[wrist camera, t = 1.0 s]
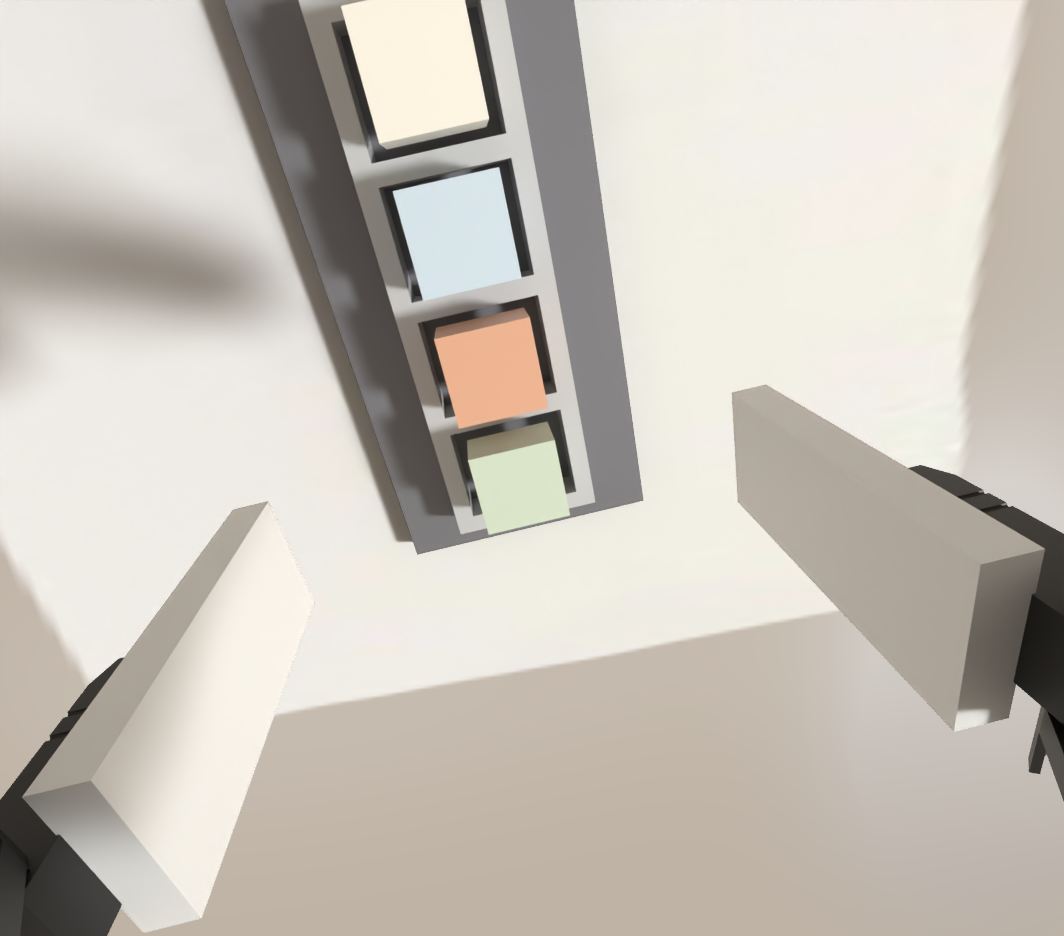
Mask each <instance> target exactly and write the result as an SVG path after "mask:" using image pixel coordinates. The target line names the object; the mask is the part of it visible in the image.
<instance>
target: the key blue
mask: <svg viewBox="0 0 1064 936" xmlns="http://www.w3.org/2000/svg"><path fill="white" fill-rule="evenodd" d="M393 194H394V198H395V202H396V205H397V209H398V212H399V216H400V219H401V223H402V227H403V230H404V234H405V237H406V241H407V244H408V248H409V252H410V255H411V259H412V262H413V266H414V269H415V273H416V277H417V280H418V284H419V287H420V291H421V294H422V298H423V301H425V300H430V299H434V298H438V297H443V296H447V295H451V294H456V293H460V292H464V291H469V290H473V289H477V288H482V287H486V286H490V285H495V284H499V283H503V282H508V281H512V280H516V279H521V278H522V277H521V272H520V267H519V262H518V258H517V253H516V248H515V243H514V238H513V233H512V228H511V223H510V218H509V213H508V209H507V204H506V199H505V194H504V189H503V184H502V179H501V174H500V169H499V167H497V168H493V169H488V170H484V171H480V172H475V173H471V174H466V175H462V176H457V177H453V178H449V179H444V180H440V181H435V182H431V183H427V184H422V185H418V186H413V187H409V188H405V189H400V190H396V191H393Z"/></svg>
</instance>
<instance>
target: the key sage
mask: <svg viewBox="0 0 1064 936" xmlns="http://www.w3.org/2000/svg"><path fill="white" fill-rule="evenodd" d="M467 449H468V463H469V466H470V470H471V473H472V477H473V480H474V484H475V488H476V491H477V495H478V498H479V502H480V505H481V509H482V513H483V516H484V520H485V523H486V527H487V530H488V534H489V535H490V534H495V533H499V532H503V531H507V530H511V529H515V528H520V527H524V526H528V525H532V524H536V523H541V522H545V521H549V520H553V519H557V518H561V517H566V516H570V512H569V507H568V502H567V497H566V492H565V488H564V483H563V478H562V473H561V468H560V463H559V458H558V453H557V448H556V444H555V439H554V437H553V434H552V432H551V430H550V427H549V425H548V422H543V423H539V424H535V425H530V426H526V427H522V428H518V429H513V430H509V431H505V432H501V433H496V434H492V435H488V436H484V437H479V438H475V439H471V440H467Z"/></svg>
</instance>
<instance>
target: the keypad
mask: <svg viewBox="0 0 1064 936" xmlns="http://www.w3.org/2000/svg"><path fill="white" fill-rule="evenodd" d="M224 1H225V4H226V7H227V10H228V12H229V15H230V18H231V21H232V24H233V27H234V30H235V33H236V35H237V38H238V41H239V44H240V47H241V50H242V53H243V55H244V58H245V61H246V64H247V67H248V70H249V73H250V76H251V78H252V81H253V84H254V87H255V90H256V93H257V96H258V99H259V101H260V104H261V107H262V110H263V113H264V116H265V119H266V121H267V124H268V127H269V130H270V133H271V136H272V139H273V142H274V144H275V147H276V150H277V153H278V156H279V159H280V162H281V165H282V167H283V170H284V173H285V176H286V179H287V182H288V185H289V187H290V190H291V193H292V196H293V199H294V202H295V205H296V208H297V210H298V213H299V216H300V219H301V222H302V225H303V228H304V230H305V233H306V236H307V239H308V242H309V245H310V248H311V251H312V253H313V256H314V259H315V262H316V265H317V268H318V271H319V274H320V276H321V279H322V282H323V285H324V288H325V291H326V294H327V296H328V299H329V302H330V305H331V308H332V311H333V314H334V317H335V319H336V322H337V325H338V328H339V331H340V334H341V337H342V339H343V342H344V345H345V348H346V351H347V354H348V357H349V360H350V362H351V365H352V368H353V371H354V374H355V377H356V380H357V383H358V385H359V388H360V391H361V394H362V397H363V400H364V403H365V405H366V408H367V411H368V414H369V417H370V420H371V423H372V426H373V428H374V431H375V434H376V437H377V440H378V443H379V446H380V449H381V451H382V454H383V457H384V460H385V463H386V466H387V469H388V471H389V474H390V477H391V480H392V483H393V486H394V489H395V492H396V494H397V497H398V500H399V503H400V506H401V509H402V512H403V514H404V517H405V520H406V523H407V526H408V529H409V532H410V535H411V537H412V540H413V543H414V546H415V549H416V552H417V555H418V554H422V553H426V552H430V551H434V550H438V549H443V548H447V547H451V546H455V545H459V544H464V543H468V542H472V541H476V540H480V539H484V538H489V537H493V536H497V535H501V534H505V533H509V532H514V531H518V530H522V529H526V528H530V527H535V526H539V525H543V524H547V523H551V522H555V521H560V520H564V519H568V518H572V517H576V516H580V515H585V514H589V513H593V512H597V511H601V510H606V509H610V508H614V507H618V506H622V505H626V504H631V503H635V502H639V501H643V494H642V487H641V480H640V473H639V465H638V458H637V451H636V444H635V437H634V429H633V422H632V415H631V408H630V401H629V393H628V386H627V379H626V372H625V365H624V357H623V350H622V343H621V336H620V329H619V322H618V314H617V307H616V300H615V293H614V286H613V278H612V271H611V264H610V257H609V250H608V242H607V235H606V228H605V221H604V214H603V206H602V199H601V192H600V185H599V178H598V170H597V163H596V156H595V149H594V142H593V134H592V127H591V120H590V113H589V106H588V98H587V91H586V84H585V77H584V70H583V63H582V55H581V48H580V41H579V34H578V27H577V19H576V12H575V5H574V0H465V3H466V8H467V13H468V18H469V23H470V27H471V32H472V37H473V42H474V47H475V52H476V57H477V62H478V67H479V71H480V76H481V81H482V86H483V91H484V96H485V101H486V106H487V111H488V116H489V121H488V123H487V126H486V127H484V128H480V129H475V130H471V131H467V132H462V133H458V134H453V135H449V136H444V137H440V138H436V139H431V140H427V141H422V142H418V143H413V144H409V145H405V146H400V147H396V148H391V149H386V148H384V147H383V146H382V145H380V144H379V141H378V137H377V134H376V130H375V126H374V123H373V119H372V116H371V112H370V109H369V105H368V101H367V98H366V94H365V91H364V87H363V84H362V80H361V76H360V73H359V69H358V66H357V62H356V59H355V55H354V51H353V48H352V44H351V41H350V37H349V33H348V30H347V26H346V23H345V19H344V16H343V12H342V8H341V6H343V5H347V4H352V3H356V2H361V1H365V0H224ZM497 167H499V169H500V174H501V179H502V184H503V189H504V194H505V199H506V204H507V209H508V213H509V218H510V223H511V228H512V233H513V238H514V243H515V248H516V253H517V258H518V262H519V267H520V272H521V277H522V278H521V279H516V280H512V281H508V282H503V283H499V284H495V285H490V286H486V287H482V288H477V289H473V290H469V291H464V292H460V293H456V294H451V295H447V296H443V297H438V298H434V299H430V300H425V301H423V298H422V294H421V291H420V287H419V284H418V280H417V277H416V273H415V269H414V266H413V262H412V259H411V255H410V252H409V248H408V244H407V241H406V237H405V234H404V230H403V227H402V223H401V219H400V216H399V212H398V209H397V205H396V202H395V198H394V194H393V191H396V190H400V189H405V188H409V187H413V186H418V185H422V184H427V183H431V182H435V181H440V180H444V179H449V178H453V177H457V176H462V175H466V174H471V173H475V172H480V171H484V170H488V169H493V168H497ZM519 308H524V309H525V311H526V312H527V314H528V315H529V317H530V321H531V326H532V331H533V336H534V341H535V346H536V351H537V355H538V360H539V365H540V370H541V375H542V380H543V385H544V390H545V395H546V399H547V404H548V408H546V409H541V410H537V411H533V412H529V413H524V414H520V415H516V416H512V417H507V418H503V419H499V420H495V421H490V422H486V423H482V424H478V425H473V426H469V427H465V428H461V429H459V427H458V423H457V420H456V416H455V412H454V409H453V405H452V402H451V398H450V395H449V391H448V387H447V384H446V380H445V377H444V373H443V370H442V366H441V362H440V359H439V355H438V352H437V348H436V345H435V341H434V337H435V331H436V328H437V327H442V326H446V325H450V324H455V323H459V322H463V321H467V320H472V319H476V318H480V317H485V316H489V315H493V314H498V313H502V312H506V311H511V310H515V309H519ZM543 422H548V425H549V427H550V430H551V432H552V434H553V437H554V439H555V444H556V448H557V453H558V458H559V463H560V468H561V473H562V478H563V483H564V488H565V492H566V497H567V502H568V507H569V512H570V516H566V517H561V518H557V519H553V520H549V521H545V522H541V523H536V524H532V525H528V526H524V527H520V528H515V529H511V530H507V531H503V532H499V533H495V534H490V535H489V534H488V530H487V527H486V523H485V520H484V516H483V513H482V509H481V505H480V502H479V498H478V495H477V491H476V488H475V484H474V480H473V477H472V473H471V470H470V466H469V463H468V449H467V440H471V439H475V438H479V437H484V436H488V435H492V434H496V433H501V432H505V431H509V430H513V429H518V428H522V427H526V426H530V425H535V424H539V423H543Z"/></svg>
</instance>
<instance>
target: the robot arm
mask: <svg viewBox="0 0 1064 936" xmlns="http://www.w3.org/2000/svg"><path fill="white" fill-rule="evenodd" d="M732 405H733V423H734V441H735V459H736V477H737V495H738V502H739V503H740V504H741V506H742V507H743V508H744V509H745V510H746V511H747V512H748V513H749V514H750V515H751V516H752V517H753V518H754V519H755V520H756V521H757V523H758V524H759V525H760V526H761V527H762V528H763V529H764V530H765V531H766V532H767V533H768V534H769V535H770V536H771V537H772V539H773V540H774V541H775V542H776V543H777V544H778V545H779V546H780V547H781V548H782V549H783V550H784V551H785V552H786V553H787V554H788V556H789V557H790V558H791V559H792V560H793V561H794V562H795V563H796V564H797V565H798V566H799V567H800V568H801V569H802V570H803V572H804V573H805V574H806V575H807V576H808V577H809V578H810V579H811V580H812V581H813V582H814V583H815V584H816V585H817V586H818V587H819V589H820V590H821V591H822V592H823V593H824V594H825V595H826V596H827V597H828V598H829V599H830V600H831V601H832V602H833V603H834V604H835V606H836V607H837V608H838V609H839V610H840V611H841V612H842V613H843V614H844V615H845V616H846V617H847V618H848V619H849V620H850V622H851V623H853V625H854V626H855V627H856V628H857V629H858V630H859V631H860V632H861V633H862V634H863V635H864V636H865V637H866V638H867V639H868V641H869V642H870V643H871V644H872V645H873V646H874V647H875V648H876V649H877V650H878V651H879V652H880V653H881V654H882V655H883V657H884V658H885V659H886V660H887V661H888V662H889V663H890V664H891V665H892V666H893V667H894V668H895V669H896V670H897V672H899V674H900V675H901V676H902V677H903V678H904V679H905V680H906V681H907V682H908V683H909V684H910V685H911V686H912V688H913V689H914V690H915V691H916V692H917V693H918V694H919V695H920V696H921V697H922V698H923V699H924V700H925V701H926V702H927V703H928V705H929V706H930V707H931V708H932V709H933V710H934V711H935V712H936V713H937V714H938V715H939V716H940V717H941V718H942V719H943V721H944V722H945V723H946V724H947V725H948V726H949V727H950V728H951V729H952V730H953V731H958V730H962V729H966V728H970V727H974V726H978V725H982V724H986V723H990V722H994V721H998V720H1002V719H1006V718H1009V714H1010V709H1011V704H1012V700H1013V695H1014V691H1015V685H1016V684H1017V685H1018V686H1019V687H1020V688H1022V690H1024V691H1025V692H1026V693H1027V694H1028V695H1029V696H1031V697H1032V698H1033V699H1034V700H1035V701H1036V702H1038V703H1039V704H1040V705H1041V709H1040V713H1039V718H1038V721H1037V725H1036V730H1035V733H1034V738H1033V741H1032V746H1031V749H1030V754H1029V772H1031V773H1037V774H1040V771H1041V768H1042V764H1043V760H1044V756H1045V755H1047V756H1048V759H1049V761H1050V764H1051V767H1052V770H1053V772H1054V775H1055V778H1056V781H1057V783H1058V787H1059V789H1060V792H1061V795H1062V798H1063V800H1064V534H1063V533H1061V532H1059V531H1057V530H1056V529H1054V528H1052V527H1050V526H1048V525H1046V524H1045V523H1043V522H1041V521H1039V520H1037V519H1035V518H1033V517H1032V516H1030V515H1028V514H1026V513H1024V512H1023V511H1021V510H1019V509H1017V508H1015V507H1013V506H1011V507H1008V506H1007V503H1006V502H1004V501H1002V500H1001V499H999V498H997V497H995V496H993V495H991V494H989V493H988V494H984V491H983V490H982V489H980V488H979V487H977V486H974V485H973V484H971V483H969V482H968V481H966V480H964V479H962V478H960V477H958V476H957V475H954V474H950V473H947V472H943V471H940V470H936V469H933V468H929V467H926V466H922V465H919V466H915V467H911V468H907V467H905V466H903V465H902V464H900V463H898V462H897V461H895V460H893V459H891V458H890V457H888V456H886V455H885V454H883V453H881V452H880V451H878V450H876V449H874V448H873V447H871V446H869V445H868V444H866V443H864V442H863V441H861V440H859V439H857V438H856V437H854V436H852V435H851V434H849V433H847V432H845V431H844V430H842V429H840V428H839V427H837V426H835V425H834V424H832V423H830V422H828V421H827V420H825V419H823V418H822V417H820V416H818V415H817V414H815V413H813V412H811V411H810V410H808V409H806V408H805V407H803V406H801V405H800V404H798V403H796V402H794V401H793V400H791V399H789V398H788V397H786V396H784V395H783V394H781V393H779V392H777V391H776V390H774V389H772V388H771V387H769V386H767V385H762V386H758V387H754V388H750V389H745V390H741V391H737V392H733V393H732ZM314 603H315V602H314V600H313V597H312V595H311V593H310V591H309V589H308V587H307V584H306V582H305V580H304V578H303V576H302V573H301V571H300V569H299V567H298V565H297V563H296V560H295V558H294V556H293V554H292V552H291V549H290V547H289V545H288V543H287V541H286V539H285V536H284V534H283V532H282V530H281V528H280V525H279V523H278V521H277V519H276V517H275V514H274V512H273V510H272V508H271V506H270V504H269V501H268V502H264V503H259V504H255V505H251V506H247V507H242V508H238V509H234V510H233V511H232V512H231V513H230V515H229V516H228V517H227V519H226V520H225V521H224V523H223V524H222V526H221V527H220V528H219V530H218V531H217V532H216V534H215V535H214V536H213V538H212V539H211V541H210V542H209V543H208V545H207V546H206V547H205V549H204V550H203V551H202V553H201V554H200V556H199V557H198V558H197V560H196V561H195V562H194V564H193V565H192V566H191V568H190V569H189V570H188V572H187V573H186V575H185V576H184V577H183V579H182V580H181V581H180V583H179V584H178V585H177V587H176V588H175V590H174V591H173V592H172V594H171V595H170V596H169V598H168V599H167V600H166V602H165V603H164V605H163V606H162V607H161V609H160V610H159V611H158V613H157V614H156V615H155V617H154V618H153V619H152V621H151V622H150V624H149V625H148V626H147V628H146V629H145V630H144V632H143V633H142V634H141V636H140V637H139V639H138V640H137V641H136V643H135V644H134V645H133V647H132V648H131V649H130V651H129V652H128V653H127V655H126V656H125V657H124V658H119V659H118V660H117V661H116V662H114V663H113V664H112V665H111V666H110V667H109V668H107V669H106V670H105V671H104V672H103V673H102V674H101V675H99V676H98V677H97V678H96V679H95V680H94V681H93V682H91V683H90V684H89V685H88V686H87V688H86V689H85V690H84V692H83V693H82V694H81V695H80V697H79V698H78V699H77V701H76V702H75V703H74V705H73V706H72V707H71V709H70V710H69V711H68V717H65V718H63V719H62V720H61V722H60V723H59V724H58V725H57V727H56V728H55V729H54V731H53V732H52V733H51V735H50V741H46V742H45V743H44V744H43V745H42V747H41V748H40V749H39V750H38V752H37V753H36V754H35V756H34V757H33V758H32V759H31V761H30V762H29V764H28V765H27V766H26V767H25V769H24V770H23V771H22V772H21V774H20V775H19V776H18V778H17V779H16V780H15V781H14V783H13V784H12V785H11V787H10V788H9V789H8V791H7V792H6V793H5V795H4V796H3V797H2V798H1V800H0V936H107V934H108V933H109V930H110V928H111V926H112V924H113V922H114V920H115V918H116V916H117V914H118V912H119V910H120V908H122V909H123V911H124V912H125V913H126V914H127V915H128V916H129V917H130V918H131V919H132V921H133V922H134V923H135V924H136V925H137V926H138V927H139V928H140V929H141V931H142V932H143V933H145V932H149V931H153V930H156V929H161V928H165V927H169V926H173V925H177V924H181V923H185V922H189V921H193V920H197V919H201V918H202V915H203V912H204V910H205V907H206V904H207V901H208V898H209V896H210V893H211V890H212V887H213V885H214V882H215V879H216V876H217V874H218V871H219V868H220V865H221V862H222V860H223V857H224V854H225V851H226V848H227V846H228V843H229V840H230V837H231V835H232V832H233V829H234V826H235V823H236V821H237V818H238V815H239V812H240V810H241V806H242V804H243V801H244V798H245V795H246V792H247V790H248V787H249V784H250V782H251V779H252V776H253V773H254V771H255V768H256V765H257V762H258V759H259V757H260V753H261V751H262V748H263V745H264V742H265V740H266V737H267V734H268V731H269V729H270V726H271V723H272V720H273V718H274V715H275V712H276V709H277V706H278V704H279V701H280V698H281V695H282V693H283V690H284V687H285V684H286V681H287V679H288V676H289V673H290V670H291V667H292V665H293V662H294V659H295V656H296V654H297V651H298V648H299V645H300V642H301V640H302V637H303V634H304V631H305V628H306V626H307V623H308V620H309V617H310V615H311V612H312V609H313V606H314Z"/></svg>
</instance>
